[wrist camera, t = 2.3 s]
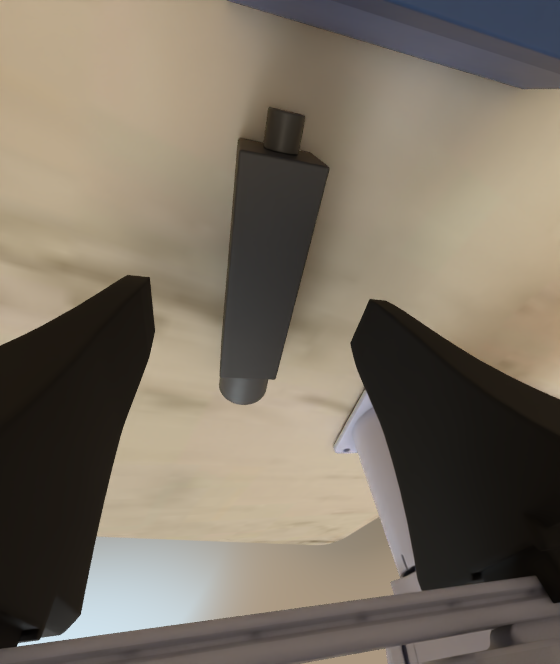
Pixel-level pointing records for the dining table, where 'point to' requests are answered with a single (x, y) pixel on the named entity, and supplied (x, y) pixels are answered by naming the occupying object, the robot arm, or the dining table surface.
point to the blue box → (447, 32)
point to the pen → (266, 252)
